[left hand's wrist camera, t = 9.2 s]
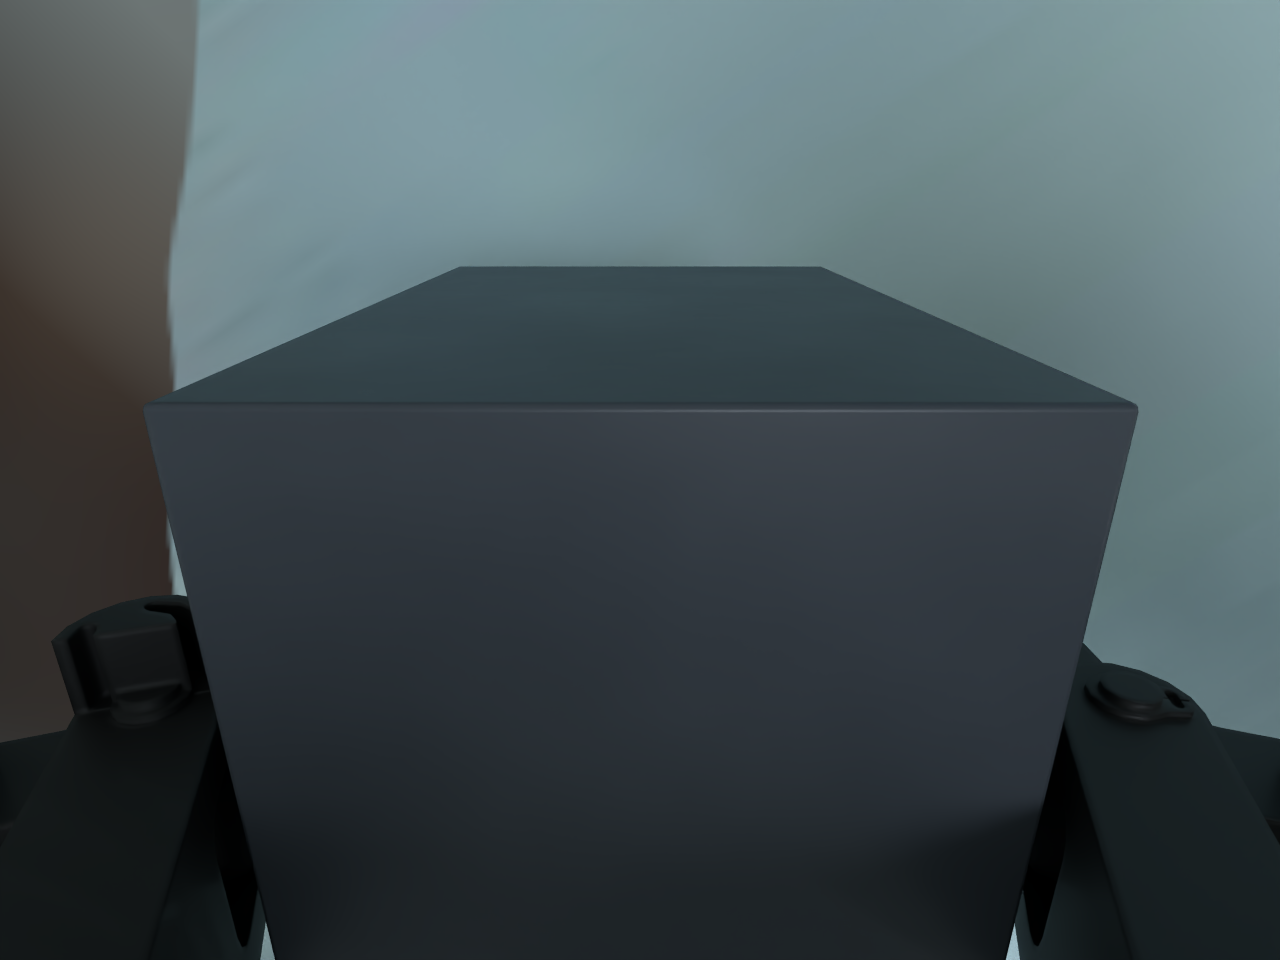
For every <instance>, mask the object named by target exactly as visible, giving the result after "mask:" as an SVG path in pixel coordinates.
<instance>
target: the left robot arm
mask: <svg viewBox="0 0 1280 960" xmlns="http://www.w3.org/2000/svg"><path fill="white" fill-rule="evenodd" d="M51 642H52V645H53V648H54V652H55V655H56V658H57V661H58V664H59V667H60V670H61V673H62V676H63V680H64V683H65V685H66V689H67V692H68V695H69V698H70V701H71V704H72V707H73V711H74V714H75V715H74V717H73V719H72V721H71V722H70V724H69V726H68V728H67V730H63V731H59V732H54V733H49V734H43V735H38V736H33V737H28V738H23V739H18V740H12V741H7V742H2V743H0V960H260V958H261V951H262V944H263V937H264V930H265V923H266V920H265V916H264V911H263V907H262V903H261V899H260V895H259V891H258V887H257V882H256V878H255V874H254V870H253V866H252V862H251V858H250V853H249V849H248V845H247V841H246V837H245V833H244V829H243V824H242V820H241V816H240V812H239V808H238V804H237V800H236V795H235V791H234V787H233V783H232V779H231V775H230V771H229V766H228V762H227V758H226V754H225V750H224V746H223V742H222V737H221V733H220V729H219V725H218V721H217V717H216V713H215V708H214V704H213V700H212V696H211V692H210V688H209V684H208V680H207V675H206V671H205V667H204V663H203V659H202V655H201V651H200V646H199V642H198V638H197V634H196V630H195V626H194V622H193V617H192V613H191V609H190V605H189V601H188V597H187V596H181V595H167V596H150V597H145V598H141V599H136V600H131V601H126V602H122V603H119V604H116V605H113V606H110V607H107V608H105V609H102V610H99V611H96V612H93V613H91V614H89V615H87V616H86V617H84V618H82V619H80V620H78V621H76V622H75V623H73V624H71V625H69V626H67V627H66V628H65V629H64V630H63V631H62V632H61V633H60V634H59V635H58V636H56V637H55V638H54V639H53V640H52V641H51ZM1015 928H1016V935H1017V942H1018V949H1019V956H1020V960H1280V739H1277V738H1272V737H1266V736H1261V735H1256V734H1251V733H1246V732H1240V731H1235V730H1230V729H1225V728H1220V727H1216V726H1212V724H1211V723H1210V721H1209V719H1208V717H1207V716H1206V714H1205V713H1204V712H1203V710H1202V709H1201V708H1200V707H1199V706H1198V705H1197V704H1196V703H1195V701H1194V700H1193V699H1192V698H1191V697H1190V696H1188V695H1187V694H1185V693H1184V692H1182V691H1180V690H1179V689H1177V688H1176V687H1174V686H1173V685H1171V684H1170V683H1168V682H1166V681H1164V680H1161V679H1159V678H1157V677H1154V676H1152V675H1150V674H1147V673H1145V672H1142V671H1140V670H1136V669H1132V668H1128V667H1124V666H1120V665H1116V664H1112V663H1102V662H1101V661H1100V660H1099V659H1098V658H1097V657H1096V656H1095V655H1094V654H1093V653H1092V652H1091V651H1090V650H1089V649H1088V648H1087V647H1086V646H1085V644H1084V643H1082V647H1081V651H1080V655H1079V659H1078V663H1077V667H1076V672H1075V676H1074V680H1073V684H1072V688H1071V692H1070V696H1069V700H1068V705H1067V709H1066V713H1065V717H1064V721H1063V725H1062V729H1061V733H1060V738H1059V742H1058V746H1057V750H1056V754H1055V758H1054V762H1053V767H1052V771H1051V775H1050V779H1049V783H1048V787H1047V791H1046V795H1045V800H1044V804H1043V808H1042V812H1041V816H1040V820H1039V824H1038V828H1037V833H1036V837H1035V841H1034V845H1033V849H1032V853H1031V857H1030V861H1029V866H1028V870H1027V874H1026V878H1025V882H1024V886H1023V890H1022V894H1021V899H1020V903H1019V907H1018V911H1017V915H1016V919H1015Z"/></svg>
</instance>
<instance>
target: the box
mask: <svg viewBox="0 0 1280 960" xmlns="http://www.w3.org/2000/svg"><path fill="white" fill-rule="evenodd" d="M143 414H144V418H145V423H146V427H147V431H148V435H149V439H150V443H151V448H152V452H153V456H154V460H155V464H156V468H157V472H158V476H159V481H160V485H161V489H162V493H163V497H164V501H165V506H166V510H167V514H168V518H169V522H170V526H171V530H172V535H173V539H174V543H175V547H176V551H177V555H178V559H179V564H180V568H181V572H182V576H183V580H184V584H185V588H186V593H187V597H188V601H189V605H190V609H191V613H192V617H193V622H194V626H195V630H196V634H197V638H198V642H199V646H200V651H201V655H202V659H203V663H204V667H205V671H206V675H207V680H208V684H209V688H210V692H211V696H212V700H213V704H214V708H215V713H216V717H217V721H218V725H219V729H220V733H221V737H222V742H223V746H224V750H225V754H226V758H227V762H228V766H229V771H230V775H231V779H232V783H233V787H234V791H235V795H236V800H237V804H238V808H239V812H240V816H241V820H242V824H243V829H244V833H245V837H246V841H247V845H248V849H249V853H250V858H251V862H252V866H253V870H254V874H255V878H256V882H257V887H258V891H259V895H260V899H261V903H262V907H263V911H264V916H265V920H266V924H267V928H268V932H269V936H270V940H271V945H272V949H273V953H274V957H275V960H1006V956H1007V952H1008V948H1009V944H1010V940H1011V936H1012V932H1013V927H1014V923H1015V919H1016V915H1017V911H1018V907H1019V903H1020V899H1021V894H1022V890H1023V886H1024V882H1025V878H1026V874H1027V870H1028V866H1029V861H1030V857H1031V853H1032V849H1033V845H1034V841H1035V837H1036V833H1037V828H1038V824H1039V820H1040V816H1041V812H1042V808H1043V804H1044V800H1045V795H1046V791H1047V787H1048V783H1049V779H1050V775H1051V771H1052V767H1053V762H1054V758H1055V754H1056V750H1057V746H1058V742H1059V738H1060V733H1061V729H1062V725H1063V721H1064V717H1065V713H1066V709H1067V705H1068V700H1069V696H1070V692H1071V688H1072V684H1073V680H1074V676H1075V672H1076V667H1077V663H1078V659H1079V655H1080V651H1081V647H1082V643H1083V639H1084V634H1085V630H1086V626H1087V622H1088V618H1089V614H1090V610H1091V606H1092V601H1093V597H1094V593H1095V589H1096V585H1097V581H1098V577H1099V573H1100V568H1101V564H1102V560H1103V556H1104V552H1105V548H1106V544H1107V539H1108V535H1109V531H1110V527H1111V523H1112V519H1113V515H1114V511H1115V506H1116V502H1117V498H1118V494H1119V490H1120V486H1121V482H1122V478H1123V473H1124V469H1125V465H1126V461H1127V457H1128V453H1129V449H1130V445H1131V440H1132V436H1133V432H1134V428H1135V424H1136V420H1137V416H1138V406H1137V405H1136V404H1134V403H1132V402H1130V401H1127V400H1125V399H1123V398H1121V397H1118V396H1116V395H1114V394H1111V393H1109V392H1107V391H1105V390H1102V389H1100V388H1098V387H1095V386H1093V385H1091V384H1088V383H1086V382H1084V381H1082V380H1079V379H1077V378H1075V377H1072V376H1070V375H1068V374H1066V373H1063V372H1061V371H1059V370H1056V369H1054V368H1052V367H1049V366H1047V365H1045V364H1043V363H1040V362H1038V361H1036V360H1033V359H1031V358H1029V357H1027V356H1024V355H1022V354H1020V353H1017V352H1015V351H1013V350H1010V349H1008V348H1006V347H1004V346H1001V345H999V344H997V343H994V342H992V341H990V340H988V339H985V338H983V337H981V336H978V335H976V334H974V333H972V332H969V331H967V330H965V329H962V328H960V327H958V326H955V325H953V324H951V323H949V322H946V321H944V320H942V319H939V318H937V317H935V316H933V315H930V314H928V313H926V312H923V311H921V310H919V309H916V308H914V307H912V306H910V305H907V304H905V303H903V302H900V301H898V300H896V299H894V298H891V297H889V296H887V295H884V294H882V293H880V292H877V291H875V290H873V289H871V288H868V287H866V286H864V285H861V284H859V283H857V282H855V281H852V280H850V279H848V278H845V277H843V276H841V275H839V274H836V273H834V272H832V271H829V270H827V269H825V268H822V267H458V268H456V269H453V270H451V271H449V272H447V273H444V274H442V275H440V276H437V277H435V278H433V279H431V280H428V281H426V282H424V283H421V284H419V285H417V286H414V287H412V288H410V289H408V290H405V291H403V292H401V293H398V294H396V295H394V296H392V297H389V298H387V299H385V300H382V301H380V302H378V303H376V304H373V305H371V306H369V307H366V308H364V309H362V310H360V311H357V312H355V313H353V314H350V315H348V316H346V317H344V318H341V319H339V320H337V321H334V322H332V323H330V324H328V325H325V326H323V327H321V328H318V329H316V330H314V331H312V332H309V333H307V334H305V335H302V336H300V337H298V338H295V339H293V340H291V341H289V342H286V343H284V344H282V345H279V346H277V347H275V348H273V349H270V350H268V351H266V352H263V353H261V354H259V355H257V356H254V357H252V358H250V359H247V360H245V361H243V362H241V363H238V364H236V365H234V366H231V367H229V368H227V369H225V370H222V371H220V372H218V373H215V374H213V375H211V376H209V377H206V378H204V379H202V380H199V381H197V382H195V383H193V384H190V385H188V386H186V387H183V388H181V389H179V390H176V391H174V392H172V393H170V394H167V395H165V396H163V397H161V398H158V399H156V400H154V401H151V402H149V403H147V404H145V405H144V407H143Z"/></svg>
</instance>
